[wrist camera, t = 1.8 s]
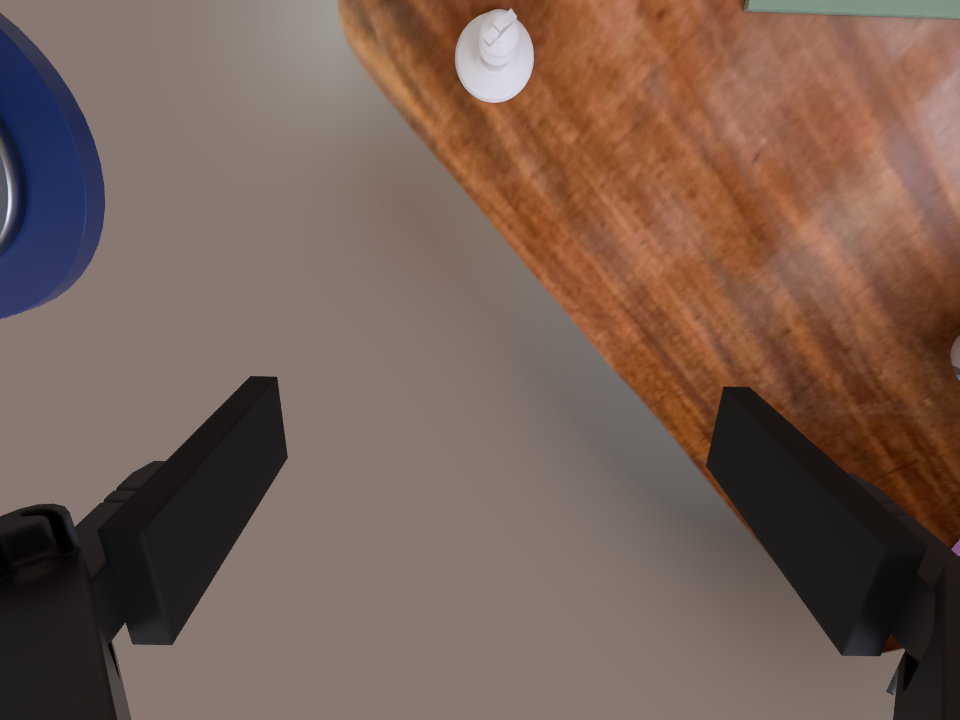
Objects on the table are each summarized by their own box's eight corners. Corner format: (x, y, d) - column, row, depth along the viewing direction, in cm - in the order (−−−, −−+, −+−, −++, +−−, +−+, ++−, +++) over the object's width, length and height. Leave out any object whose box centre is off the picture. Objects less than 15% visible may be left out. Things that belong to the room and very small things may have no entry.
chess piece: (549, 62, 33) (577, 28, 24) (490, 120, 34) (495, 109, 25) (498, -8, 31) (506, -72, 22) (438, 55, 33) (422, 18, 23)
